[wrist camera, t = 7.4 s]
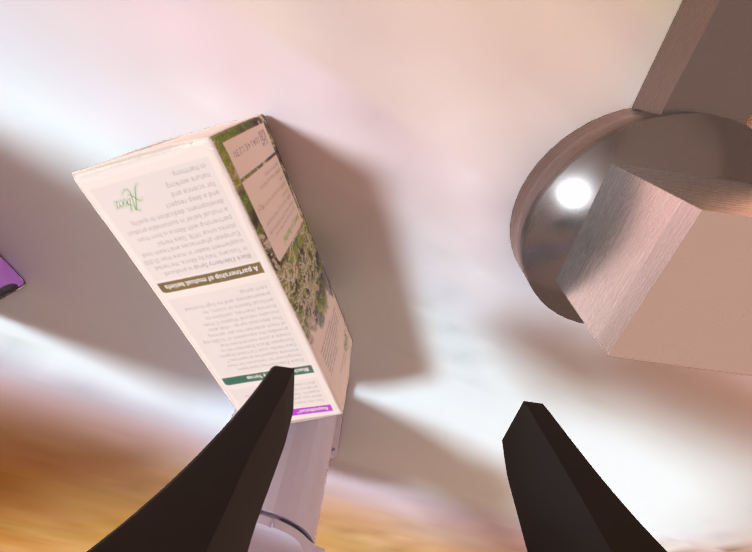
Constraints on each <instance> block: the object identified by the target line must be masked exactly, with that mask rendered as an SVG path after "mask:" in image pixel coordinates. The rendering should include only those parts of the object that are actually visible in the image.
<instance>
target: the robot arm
mask: <svg viewBox="0 0 752 552" xmlns="http://www.w3.org/2000/svg"><path fill="white" fill-rule="evenodd" d="M294 371H295V368H289V367H282V366H273V367H271V369H270V370H269V372H268V373H267V375H266V376H265V377H264V379H263V380H262V382H261V383H260V384H259V386H258V387H257V388H256V390H255V391H254V392H253V393H252V395H251V396H250V397H249V398H248V400H247V401H246V402H245V403H244V405H243V406H242V407H241V408H240V409H239V410H238V411H237V409H235V411H234V413H233V415H232V417H231V419H230V421H229V422H228V423H227V424H226V426H225V427H224V428H223V429H222V430H221V431H220V432H219V433H218V434H217V435H216V436H215V438H214V439H213V440H212V441H211V442H210V443H209V444H208V445H207V446H206V447H205V448H204V449H203V450H202V451H201V452H200V453H199V454H198V455H197V456H196V457H195V458H194V459H193V460H192V461H191V462H190V463H189V464H188V465H187V466H186V467H185V468H184V469H183V470H182V471H181V472H180V473H179V474H178V475H177V476H176V477H175V478H174V479H173V480H172V481H171V482H169V483H168V484H167V485H166V486H165V487H164V488H163V489H162V490H161V491H160V492H158V493H157V494H156V495H155V496H154V497H153V498H152V499H150V500H149V501H148V502H147V503H146V504H145V505H144V506H143V507H141V508H140V509H139V510H138V511H137V512H136V513H134V514H133V515H132V516H131V517H130V518H128V519H127V520H126V521H125V522H124V523H122V524H121V525H120V526H119V527H118V528H116V529H115V530H114V531H112V532H111V533H110V534H109V535H107V536H106V537H105V538H104V539H102V540H101V541H100V542H99V543H97V544H96V545H95V546H93V547H92V548H91V549H90V550H88V551H87V552H325V549H324V548H322V547H319V546H317V545H315V540H316V534H317V528H318V523H319V517H320V511H321V505H322V500H323V494H324V488H325V483H326V477H327V471H328V465H329V460H330V459H335V458H336V457H337V453H338V446H339V438H340V431H341V424H342V417H343V413H341V414H338V415H332V416H327V417H323V418H318V419H313V420H307V421H301V422H295V423H291V419H292V415H293V407H294ZM502 442H503V450H504V458H505V464H506V470H507V476H508V480H509V484H510V488H511V492H512V495H513V499H514V503H515V507H516V510H517V514H518V518H519V522H520V525H521V529H522V533H523V536H524V540H525V544H526V548H527V551H528V552H667V551H666V550H665V549H664V548H663V547H662V546H661V545H660V544H659V543H658V542H657V541H656V540H655V539H654V538H653V536H652V535H651V534H650V533H649V532H648V531H647V530H646V529H645V528H644V527H643V526H642V525H641V524H640V523H639V521H638V520H637V519H636V518H635V517H634V516H633V515H632V514H631V512H630V511H629V510H628V509H627V508H626V507H625V506H624V504H623V503H622V502H621V501H620V500H619V499H618V498H617V496H616V495H615V494H614V493H613V492H612V491H611V489H610V488H609V487H608V486H607V485H606V483H605V482H604V481H603V480H602V479H601V477H600V476H599V475H598V474H597V472H596V471H595V470H594V469H593V467H592V466H591V465H590V464H589V462H588V461H587V460H586V459H585V457H584V456H583V455H582V454H581V452H580V451H579V450H578V448H577V447H576V446H575V445H574V443H573V442H572V441H571V439H570V438H569V437H568V436H567V434H566V433H565V432H564V430H563V429H562V428H561V426H560V425H559V424H558V423H557V421H556V420H555V419H554V417H553V416H552V415H551V413H550V412H549V411H548V410H547V408H546V407H545V406H544V405H543V404H540V403H533V402H526V401H524V402H523V403H522V405H521V407H520V409H519V411H518V413H517V414H516V416H515V418H514V420H513V422H512V423H511V425H510V427H509V429H508V431H507V432H506V434H505V436H504V438H503V440H502Z"/></svg>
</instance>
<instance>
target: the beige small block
mask: <svg viewBox="0 0 752 552" xmlns="http://www.w3.org/2000/svg"><path fill="white" fill-rule="evenodd" d="M556 282H557V284H558V285H559V287H560V288H561V290H562V291H563V293H564V294H565V295H566V297H567V298H568V300H569V301H570V303H571V304H572V306H573V307H574V309H575V310H576V312H577V313H578V314H579V316H580V317H581V319H582V320H583V322H584V323H585V325H586V326H587V328H588V329H589V330H590V332H591V333H592V335H593V336H594V338H595V339H596V341H597V342H598V344H599V345H600V347H601V348H602V349H603V351H604V352H605V354H606V355H607V356H610V357H618V358H625V359H632V360H640V361H647V362H654V363H662V364H669V365H676V366H684V367H691V368H698V369H705V370H713V371H720V372H727V373H735V374H742V375H749V376H752V184H749V183H742V182H735V181H729V180H722V179H715V178H708V177H701V176H694V175H688V174H681V173H674V172H667V171H660V170H653V169H647V168H640V167H633V166H626V165H619V164H613V163H611V165H610V167H609V169H608V172H607V174H606V176H605V178H604V180H603V182H602V184H601V186H600V188H599V191H598V193H597V195H596V197H595V199H594V201H593V203H592V205H591V207H590V210H589V212H588V214H587V216H586V218H585V220H584V222H583V224H582V226H581V229H580V231H579V233H578V235H577V237H576V239H575V241H574V243H573V245H572V248H571V250H570V252H569V254H568V256H567V258H566V260H565V262H564V264H563V267H562V269H561V271H560V273H559V275H558V277H557V279H556Z"/></svg>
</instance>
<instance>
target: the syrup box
mask: <svg viewBox="0 0 752 552" xmlns="http://www.w3.org/2000/svg"><path fill="white" fill-rule="evenodd" d="M72 175H73V176H74V180H75V182H76V183H77V185H78V186H79V188H80V189H81V190H82V192H83V193H84V194H85V196H86V197H87V199H88V200H89V201H90V203H91V204H92V206H93V207H94V208H95V210H96V211H97V213H98V214H99V215H100V217H101V218H102V219H103V221H104V222H105V223H106V225H107V226H108V227H109V229H110V230H111V232H112V233H113V234H114V236H115V237H116V239H117V240H118V241H119V243H120V244H121V245H122V247H123V248H124V250H125V251H126V252H127V254H128V255H129V257H130V258H131V259H132V261H133V262H134V264H135V265H136V267H137V268H138V269H139V271H140V272H141V274H142V275H143V276H144V278H145V279H146V281H147V282H148V283H149V285H150V286H151V288H152V289H153V291H154V292H155V293H156V295H157V296H158V298H159V299H160V301H161V302H162V303H163V305H164V306H165V308H166V309H167V310H168V312H169V313H170V315H171V316H172V318H173V319H174V320H175V322H176V323H177V325H178V326H179V328H180V329H181V330H182V332H183V333H184V335H185V336H186V338H187V339H188V340H189V342H190V343H191V345H192V346H193V347H194V349H195V350H196V352H197V353H198V355H199V356H200V358H201V359H202V361H203V362H204V364H205V365H206V366H207V368H208V369H209V371H210V372H211V374H212V375H213V376H214V378H215V379H216V381H217V382H218V384H219V385H220V387H221V388H222V389H223V391H224V392H225V394H226V395H227V397H228V398H229V399H230V401H231V402H232V404H233V405H234V406H235V408H236V409H237V411H238V410H239V409H240V408H241V407H242V406H243V405H244V403H245V402H246V401H247V400H248V398H249V397H250V396H251V395H252V393H253V392H254V391H255V390H256V388H257V387H258V386H259V384H260V383H261V382H262V380H263V379H264V377H265V376H266V375H267V373H268V372H269V370H270V369H271V367H273V366H282V367H289V368H295V371H294V407H293V415H292V419H291V423H295V422H301V421H307V420H313V419H318V418H323V417H327V416H332V415H338V414H341V413H343V412H344V405H345V398H346V390H347V386H348V380H349V371H350V356H351V349H352V339H351V337H350V334H349V332H348V329H347V327H346V324H345V321H344V319H343V316H342V314H341V311H340V308H339V306H338V303H337V300H336V298H335V296H334V293H333V290H332V288H331V285H330V283H329V280H328V278H327V275H326V273H325V270H324V268H323V265H322V263H321V260H320V258H319V255H318V252H317V250H316V247H315V245H314V242H313V239H312V237H311V234H310V232H309V230H308V227H307V224H306V222H305V219H304V216H303V214H302V211H301V209H300V206H299V203H298V201H297V198H296V196H295V193H294V191H293V188H292V186H291V183H290V180H289V178H288V176H287V173H286V170H285V168H284V166H283V163H282V161H281V158H280V155H279V153H278V150H277V148H276V145H275V142H274V140H273V137H272V135H271V132H270V130H269V128H268V125H267V122H266V120H265V117H264V115H263V114H259V115H255V116H251V117H248V118H244V119H240V120H236V121H232V122H228V123H224V124H220V125H217V126H213V127H209V128H205V129H202V130H198V131H195V132H191V133H187V134H184V135H180V136H177V137H173V138H170V139H167V140H163V141H160V142H157V143H154V144H152V145H149V146H147V147H144V148H141V149H138V150H135V151H132V152H129V153H127V154H124V155H121V156H119V157H116V158H114V159H111V160H108V161H106V162H103V163H100V164H98V165H95V166H92V167H89V168H84V169H81V170H78V171H75V172H73V173H72Z"/></svg>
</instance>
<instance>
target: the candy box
mask: <svg viewBox="0 0 752 552" xmlns="http://www.w3.org/2000/svg"><path fill="white" fill-rule="evenodd" d="M24 286H25V283H24V281H23V279H22V278H21V277H20V276H19V275H18V274H17V273H16V272H15V271H14V269H13V268H12V267H11V266H10V265H9V264H8V263H7V262H6V261H5V260H4V259H3V258H2V257H0V299H2V298H4V297H6V296H7V295H9V294H11V293H12V292H14V291H16V290H19V289H21V288H22V287H24Z"/></svg>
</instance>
